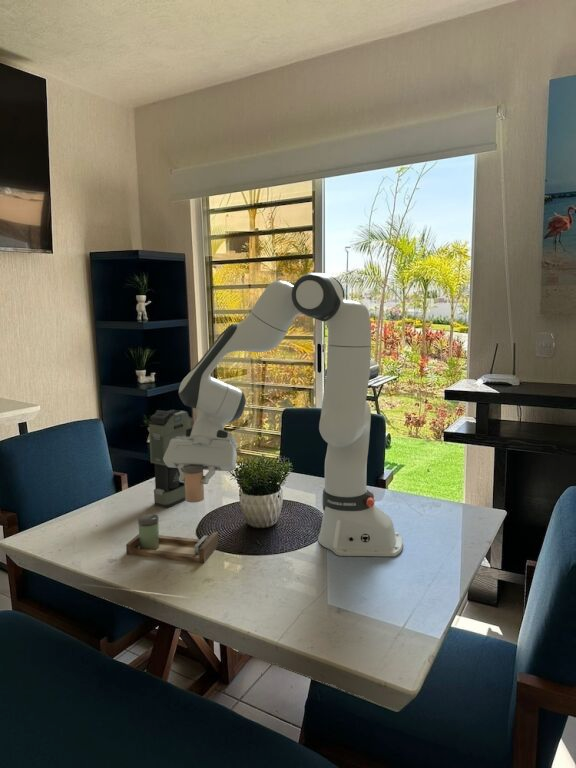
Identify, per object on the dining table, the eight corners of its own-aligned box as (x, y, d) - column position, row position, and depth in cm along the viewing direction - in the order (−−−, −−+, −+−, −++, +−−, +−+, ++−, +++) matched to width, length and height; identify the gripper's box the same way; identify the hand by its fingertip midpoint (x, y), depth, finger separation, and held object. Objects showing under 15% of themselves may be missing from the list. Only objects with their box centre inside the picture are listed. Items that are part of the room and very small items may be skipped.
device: (167, 509, 169) (164, 414, 165) (149, 504, 173) (145, 412, 168) (196, 495, 181) (194, 407, 177) (179, 491, 185) (176, 404, 180)
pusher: (211, 547, 142) (210, 536, 141) (201, 558, 136) (201, 546, 135) (204, 546, 142) (204, 535, 142) (194, 558, 136) (194, 546, 136)
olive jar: (163, 544, 144) (162, 515, 143) (154, 552, 139) (152, 523, 138) (145, 542, 145) (143, 513, 144) (135, 550, 140) (134, 521, 139)
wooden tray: (218, 546, 143) (218, 532, 143) (204, 564, 134) (203, 549, 133) (145, 538, 148) (144, 525, 147) (126, 555, 138) (125, 540, 138)
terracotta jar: (207, 496, 148) (206, 464, 147) (199, 503, 143) (198, 470, 142) (189, 495, 150) (188, 463, 148) (181, 501, 145) (180, 469, 143)
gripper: (168, 430, 153) (153, 474, 145) (237, 433, 148) (225, 479, 140) (175, 441, 158) (161, 484, 150) (242, 445, 153) (231, 490, 145)
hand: (193, 482), depth 145 cm, fingers closed on terracotta jar, 5 cm apart
